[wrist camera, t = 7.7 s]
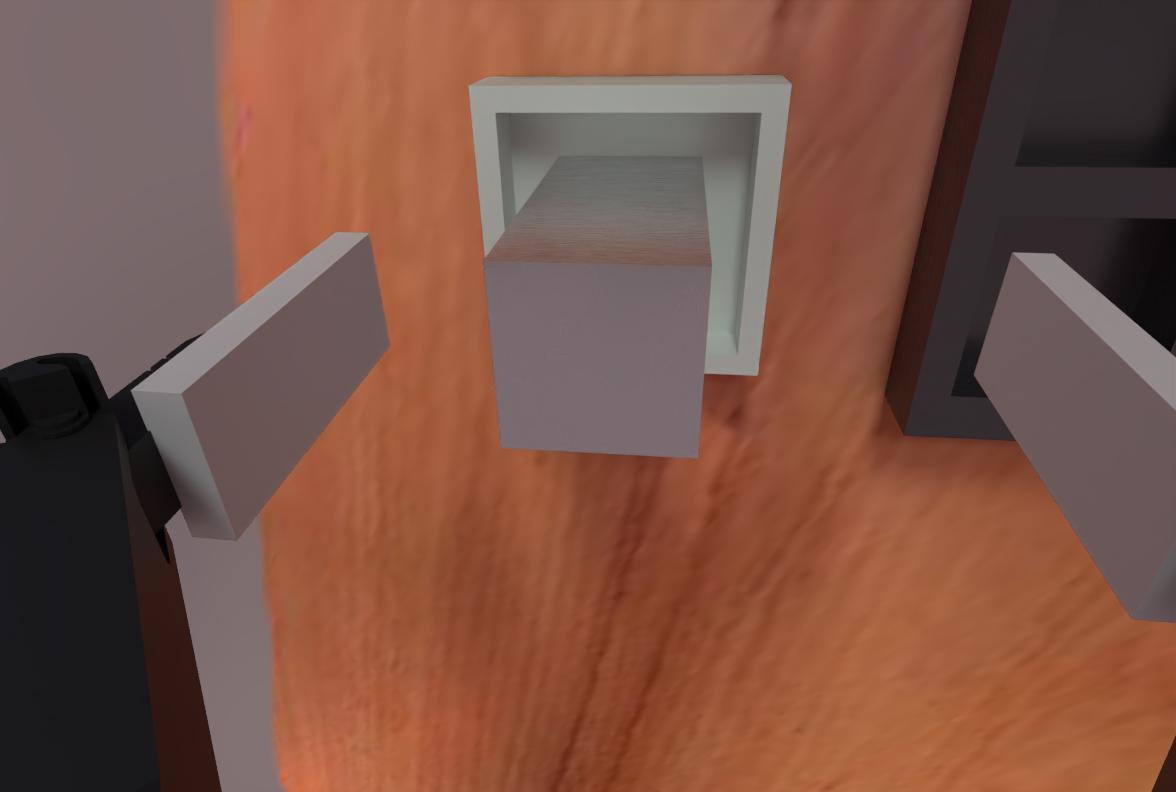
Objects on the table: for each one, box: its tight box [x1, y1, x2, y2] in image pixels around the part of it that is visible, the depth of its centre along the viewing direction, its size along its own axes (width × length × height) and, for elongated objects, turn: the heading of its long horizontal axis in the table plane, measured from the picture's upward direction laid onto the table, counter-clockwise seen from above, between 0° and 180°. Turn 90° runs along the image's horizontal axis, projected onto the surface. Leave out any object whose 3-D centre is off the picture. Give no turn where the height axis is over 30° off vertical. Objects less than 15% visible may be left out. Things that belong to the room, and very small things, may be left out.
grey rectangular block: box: [483, 156, 712, 459], centre depth 21 cm, size 5×5×11 cm
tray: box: [469, 75, 792, 376], centre depth 25 cm, size 10×10×2 cm
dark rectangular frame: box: [885, 0, 1176, 441], centre depth 23 cm, size 18×9×3 cm, turn 1°
